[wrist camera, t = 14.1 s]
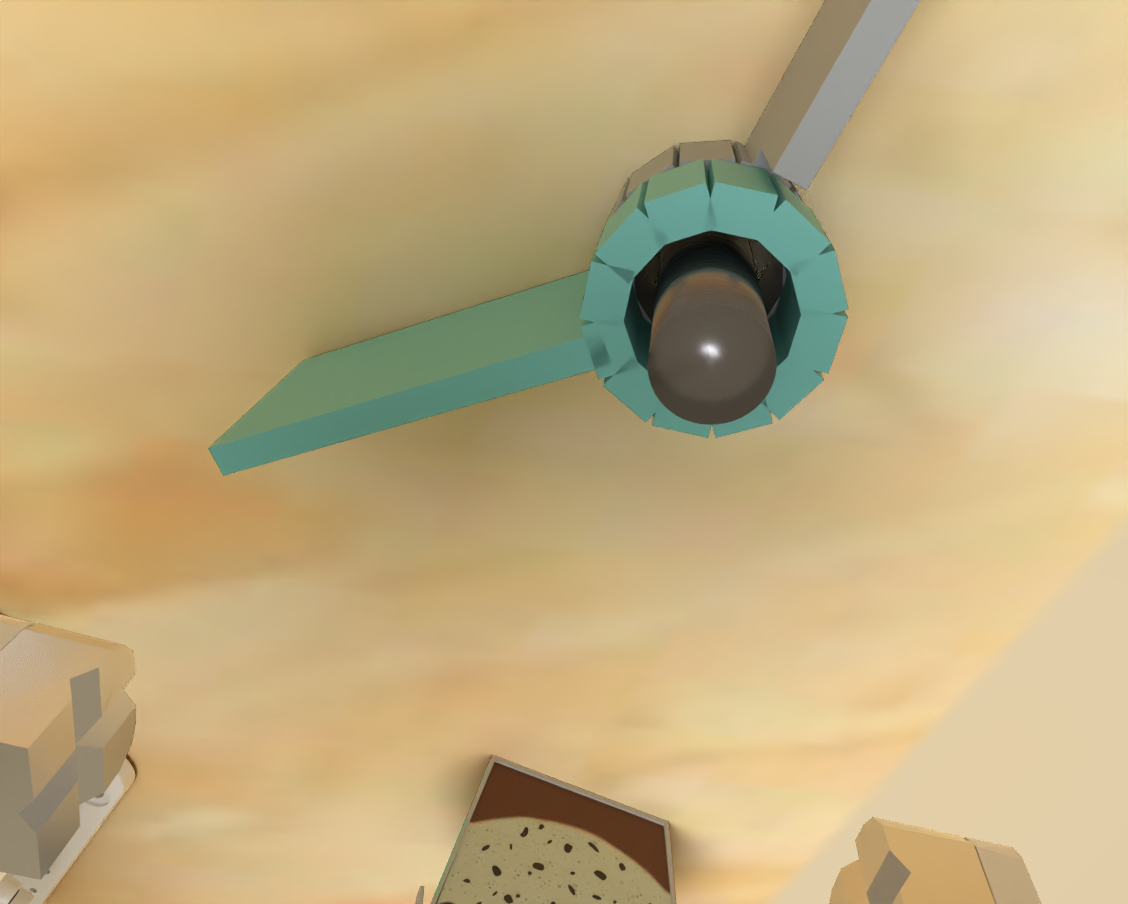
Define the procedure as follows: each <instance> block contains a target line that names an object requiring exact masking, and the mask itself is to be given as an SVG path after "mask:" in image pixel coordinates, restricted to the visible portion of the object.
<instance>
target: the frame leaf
mask: <svg viewBox="0 0 1128 904" xmlns="http://www.w3.org/2000/svg"><path fill="white" fill-rule="evenodd" d="M919 2H920V0H825V2H824V4H823V5H822V7H821V9H820V11H819V13H818V14H817V16H816V18H815V20H814V22H813V23H812V25H811V27H810V29H809V31H808V33H807V34H806V36H805V38H804V40H803V42H802V43H801V45H800V47H799V49H798V51H797V52H796V54H795V56H794V58H793V60H792V61H791V63H790V65H789V67H788V69H787V70H786V72H785V74H784V76H783V78H782V80H781V81H780V83H779V85H778V87H777V89H776V90H775V92H774V94H773V96H772V98H771V99H770V101H769V103H768V105H767V107H766V108H765V110H764V112H763V114H762V116H761V117H760V119H759V121H758V123H757V125H756V127H755V128H754V130H753V132H752V134H751V136H750V137H749V139H748V141H747V143H746V145H745V146H744V145H742V144H740V143H738V142H736V143H735V145H734V147H733V149H732V146H731V143H730V140H724V141H708V142H693V143H680V155H679V153H678V152H677V150H676V148H675V147H674V146H672V147H671V148H669V149H668V150H666V151H665V152H663V153H662V154H660V155H659V156H657V157H656V158H654V159H653V160H651V161H650V162H648V163H647V164H645V165H644V166H642V167H641V168H640V169H638V170H637V171H635V172H634V173H633V174H632V177H631V179H629V178H628V180H627V182H626V184H625V186H624V188H623V190H622V192H621V194H620V196H619V198H618V200H617V202H616V204H615V206H614V208H613V210H612V212H611V214H610V216H609V218H608V220H609V219H610V218H611V217H612V216H613V214H614V213H615V212H616V211H617V210H618V209H619V208H620V207H621V205H622V204H623V203H624V202H625V201H626V200H627V199H628V198H629V196H630V195H631V194H632V193H633V192H634V191H635V190H636V189H637V187H638V186H639V185H640V184H641V183H642V182H643V181H644V182H645V183H646V184H647V185H648V182H649V178H650V176H653V175H656V174H659V173H662V172H665V171H668V170H671V169H674V168H677V167H680V166H683V165H686V164H689V163H692V162H694V161H697V160H700V159H704V163H705V166H706V170H707V173H708V169H709V165H710V161H711V158H713V159H718V160H723V161H727V162H732V163H737V164H741V165H746V166H751V167H755V168H760V169H765V170H766V171H767V173H768V175H769V177H770V176H771V175H772V174H774V175H775V176H776V177H777V178H778V179H779V180H780V181H781V182H782V183H783V184H784V185H785V186H786V187H787V188H788V189H789V190H790V191H792V192H793V193H794V194H795V195H796V196H797V197H798V198H799V199H800V200H801V198H800V196H799V194H798V193H797V191H796V189H795V187H794V186H793V184H792V182H793V183H795V184H797V185H799V186H800V187H802V188H804V189H806V190H807V188H808V187H809V185H810V183H811V182H812V180H813V178H814V177H815V175H816V173H817V172H818V170H819V168H820V167H821V165H822V163H823V162H824V160H825V158H826V157H827V155H828V153H829V152H830V150H831V148H832V147H833V145H834V143H835V142H836V140H837V138H838V137H839V135H840V133H841V132H842V130H843V128H844V127H845V125H846V123H847V122H848V120H849V118H850V117H851V115H852V113H853V112H854V110H855V108H856V107H857V105H858V103H859V102H860V100H861V98H862V97H863V95H864V93H865V92H866V90H867V88H868V87H869V85H870V83H871V82H872V80H873V78H874V77H875V75H876V73H877V72H878V70H879V68H880V67H881V65H882V63H883V62H884V60H885V58H886V57H887V55H888V53H889V52H890V50H891V48H892V47H893V45H894V43H895V42H896V40H897V38H898V37H899V35H900V33H901V32H902V30H903V28H904V27H905V25H906V23H907V22H908V20H909V18H910V17H911V15H912V13H913V12H914V10H915V8H916V7H917V5H918V3H919ZM801 201H802V200H801ZM802 202H803V201H802ZM608 220H607V221H608ZM606 223H607V222H606ZM605 226H606V225H605ZM604 228H605V227H604ZM786 276H787V274H786V270H785V266H784V265H783V264H782V263H781V262H780V261H779V260H778V259H777V258H776V257H774V256H773V255H772V261H771V262H770V264H769V266H768V267H767V269H766V271H765V272H764V274H763V276H762V277H761V279H760V281H759V286H760V290H761V294H762V298H763V303H764V307H765V311H766V315H767V319H769V318H770V317H771V316H772V315H773V314H774V313H775V312H776V308H777V305H778V302H779V299H780V295H781V292H782V289H783V286H784V282H785V279H786ZM632 285H633V288H634V291H635V294H636V297H637V300H638V303H639V306H640V309H641V312H642V316H643V318H644V319H645V320H646V321H648V322H649V323H650V324H651V325H652V323H653V314H654V306H655V298H656V288H655V286H654V285H653V283H652V282H651V280H650V279H649V277H648V275H647V274H646V272H645V271H644V269H643V268H642V269H641V271H640V272H639V273H638V274H637V275H636V276H635V277H634V278H633V282H632Z"/></svg>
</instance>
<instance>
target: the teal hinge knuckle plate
mask: <svg viewBox="0 0 1128 904" xmlns="http://www.w3.org/2000/svg"><path fill="white" fill-rule="evenodd" d="M709 230H713V231H717V232H722V233H727V234H731V235H736V236H741V237H745V238H750V239H755V240H758V241H759V242H760V243H761V244H762V245H763V246H764V247H765V248H766V249H767V250H768V251H769V252H770V253H771V254H772V255H773V256H774V257H776V258H777V259H778V260H779V261H780V262H781V263H782V264H783V265H784V266H785V270H786V274H787V276H786V279H785V282H784V286H783V289H782V292H781V295H780V299H779V302H778V305H777V308H776V312H775V313H774V314H773V315H772V316H771V317H770V318H769V319H768V323H769V327H770V331H771V335H772V339H773V343H774V348H775V352H776V359H777V369H776V375H775V379H774V382H773V385H772V387H771V389H770V391H769V393H768V394H767V396H766V398H765V399H764V400H763V401H762V402H761V404H760V405H758V406H757V407H756V408H755V409H754V410H753V411H751V412H750V413H749V414H747V415H745V416H743V417H742V418H739V419H737V420H735V421H732V422H728V423H724V424H717V425H706V424H698V423H693V422H690V421H687V420H684V419H682V418H680V417H678V416H677V415H675V414H673V413H672V412H671V411H669V410H668V409H667V408H666V407H665V406H664V405H663V404H662V403H661V402H660V401H659V399H658V398H657V396H656V395H655V393H654V391H653V389H652V386H651V384H650V380H649V375H648V356H649V348H650V339H651V331H652V325H651V324H650V323H649V322H648V321H646V320H645V319H644V318H643V316H642V312H641V309H640V306H639V303H638V300H637V297H636V294H635V291H634V288H633V285H632V282H633V278H634V277H635V276H636V275H637V274H638V273H639V272H640V271H641V269H642V268H643V267H644V266H645V265H646V264H647V263H648V262H649V261H650V260H651V259H652V258H653V257H654V256H655V255H656V253H657V252H658V251H659V250H660V249H661V248H662V247H663V246H664V245H665V244H668V243H671V242H674V241H677V240H681V239H684V238H687V237H690V236H693V235H696V234H700V233H703V232H706V231H709ZM847 309H848V305H847V301H846V297H845V292H844V288H843V283H842V279H841V275H840V270H839V266H838V261H837V257H836V253H835V250H834V248H833V246H832V245H831V243H830V241H829V239H828V237H827V236H826V234H825V232H824V231H823V229H822V227H821V226H820V224H819V222H818V221H817V219H816V217H815V216H814V214H813V212H812V211H811V210H810V209H809V208H808V207H807V206H806V205H805V204H804V203H803V202H802V201H801V200H800V199H799V198H798V197H797V196H796V195H795V194H794V193H793V192H792V191H790V190H789V189H788V188H787V187H786V186H785V185H784V184H783V183H782V182H781V181H780V180H779V179H778V178H777V177H776V176H775V175H774V174H772V175H771V176H770V177H769V175H768V173H767V171H766V170H765V169H760V168H755V167H751V166H746V165H741V164H737V163H732V162H727V161H723V160H718V159H713V158H711V161H710V165H709V169H708V173H707V170H706V166H705V163H704V159H700V160H697V161H694V162H692V163H689V164H686V165H683V166H680V167H677V168H674V169H671V170H668V171H665V172H662V173H659V174H656V175H653V176H650V178H649V182H648V185H647V184H646V183H645V182H644V181H643V182H642V183H641V184H640V185H639V186H638V187H637V189H636V190H635V191H634V192H633V193H632V194H631V195H630V196H629V198H628V199H627V200H626V201H625V202H624V203H623V204H622V205H621V207H620V208H619V209H618V210H617V211H616V212H615V213H614V214H613V216H612V217H611V218H610V219H609V220H608V221H607V223H606V226H605V228H604V229H603V231H602V234H601V237H600V239H599V242H598V245H597V247H596V250H595V253H594V255H593V258H592V261H591V265H590V270H588V271H585V272H582V273H578V274H575V275H572V276H569V277H566V278H563V279H559V280H556V281H553V282H550V283H547V284H543V285H540V286H537V287H534V288H531V289H528V290H524V291H521V292H518V293H515V294H512V295H509V296H505V297H502V298H499V299H496V300H493V301H490V302H486V303H483V304H480V305H477V306H474V307H471V308H467V309H464V310H461V311H458V312H455V313H451V314H448V315H445V316H442V317H439V318H436V319H432V320H429V321H426V322H423V323H420V324H417V325H413V326H410V327H407V328H404V329H401V330H398V331H394V332H391V333H388V334H385V335H382V336H378V337H375V338H372V339H369V340H366V341H363V342H359V343H356V344H353V345H350V346H347V347H344V348H340V349H337V350H334V351H331V352H328V353H325V354H321V355H318V356H315V357H312V358H309V359H305V360H303V361H302V362H301V363H300V364H299V365H298V366H296V367H295V368H294V369H293V370H292V371H291V372H290V373H289V374H288V375H287V376H286V377H285V378H284V379H282V380H281V381H280V382H279V383H278V384H277V385H276V386H275V387H274V388H273V389H272V390H271V391H270V392H268V393H267V394H266V395H265V396H264V397H263V398H262V399H261V400H260V401H259V402H258V403H257V404H256V405H254V406H253V407H252V408H251V409H250V410H249V411H248V412H247V413H246V414H245V415H244V416H243V417H242V418H240V419H239V420H238V421H237V422H236V423H235V424H234V425H233V426H232V427H231V428H230V429H229V430H228V431H226V432H225V433H224V434H223V435H222V436H221V437H220V438H219V439H218V440H217V441H216V442H215V443H214V444H212V445H211V446H210V447H209V448H208V449H209V451H210V452H211V454H212V456H213V458H214V460H215V462H216V463H217V465H218V467H219V469H220V471H221V472H222V474H223V476H224V475H227V474H231V473H234V472H238V471H241V470H245V469H248V468H252V467H255V466H259V465H262V464H266V463H269V462H273V461H276V460H280V459H283V458H287V457H290V456H294V455H297V454H301V453H304V452H308V451H311V450H315V449H318V448H322V447H325V446H329V445H332V444H336V443H339V442H343V441H346V440H350V439H353V438H357V437H360V436H364V435H367V434H371V433H374V432H378V431H381V430H385V429H388V428H392V427H395V426H399V425H402V424H406V423H409V422H413V421H416V420H420V419H423V418H427V417H430V416H434V415H437V414H441V413H444V412H448V411H451V410H455V409H458V408H462V407H465V406H469V405H472V404H476V403H479V402H483V401H486V400H490V399H493V398H497V397H500V396H504V395H507V394H511V393H514V392H518V391H521V390H525V389H528V388H532V387H535V386H539V385H542V384H546V383H549V382H553V381H556V380H560V379H563V378H567V377H570V376H574V375H577V374H581V373H584V372H588V371H591V370H596V373H597V376H598V379H602V378H605V380H604V384H603V386H604V387H605V388H606V389H607V390H609V391H610V392H611V393H612V394H613V395H614V396H616V397H617V398H618V399H619V400H620V401H621V402H623V403H624V404H625V405H626V406H627V407H628V408H630V409H631V410H632V411H633V412H634V413H635V414H637V415H638V416H639V417H640V418H641V419H642V420H644V421H645V422H646V421H647V420H648V419H649V418H650V417H651V416H652V415H653V424H652V426H657V427H661V428H666V429H670V430H675V431H679V432H684V433H688V434H693V435H697V436H702V437H706V438H708V436H709V432H710V429H711V426H712V427H713V430H714V433H715V436H716V438H717V437H721V436H725V435H729V434H732V433H736V432H740V431H744V430H748V429H752V428H756V427H760V426H764V425H768V424H771V423H772V419H771V414H770V411H771V412H772V413H773V414H774V415H775V416H776V417H777V418H779V419H781V418H782V417H783V416H784V415H785V414H786V413H787V412H789V411H790V410H791V409H792V408H793V407H794V406H795V405H796V404H798V403H799V402H800V401H801V400H802V399H803V398H804V397H805V396H807V395H808V394H809V393H810V392H811V391H812V390H813V389H814V388H816V387H817V386H818V385H819V384H820V383H821V382H822V381H823V380H824V379H823V377H822V374H821V372H824V373H829V370H830V367H831V364H832V361H833V359H834V356H835V353H836V350H837V347H838V344H839V341H840V338H841V335H842V333H843V330H844V327H845V324H846V321H847V318H848V317H847V315H846V313H845V311H844V310H847Z"/></svg>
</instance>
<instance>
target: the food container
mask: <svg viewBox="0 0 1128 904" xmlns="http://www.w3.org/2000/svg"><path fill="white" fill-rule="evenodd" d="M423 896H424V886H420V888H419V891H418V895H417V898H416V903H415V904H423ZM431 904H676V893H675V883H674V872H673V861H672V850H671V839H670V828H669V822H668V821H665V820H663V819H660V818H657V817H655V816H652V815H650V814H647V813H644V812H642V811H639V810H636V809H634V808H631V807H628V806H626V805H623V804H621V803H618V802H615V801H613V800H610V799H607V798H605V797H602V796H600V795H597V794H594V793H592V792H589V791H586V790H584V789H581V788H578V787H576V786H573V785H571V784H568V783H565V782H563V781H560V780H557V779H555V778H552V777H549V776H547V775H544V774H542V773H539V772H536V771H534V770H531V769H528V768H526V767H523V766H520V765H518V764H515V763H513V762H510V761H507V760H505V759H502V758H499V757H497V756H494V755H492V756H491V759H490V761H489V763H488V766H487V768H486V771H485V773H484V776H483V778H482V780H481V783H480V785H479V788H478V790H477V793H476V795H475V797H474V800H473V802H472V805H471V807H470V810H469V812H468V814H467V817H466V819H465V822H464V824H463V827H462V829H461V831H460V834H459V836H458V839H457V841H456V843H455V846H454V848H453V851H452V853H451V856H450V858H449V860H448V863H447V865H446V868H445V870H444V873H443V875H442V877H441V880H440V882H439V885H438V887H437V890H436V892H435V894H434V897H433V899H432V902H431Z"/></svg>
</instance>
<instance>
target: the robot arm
mask: <svg viewBox="0 0 1128 904" xmlns="http://www.w3.org/2000/svg"><path fill="white" fill-rule="evenodd" d="M134 675H135V669H134V656H133V650H131V649H129V648H128V647H126V646H125V645H121V644H117V643H113V642H109V641H105V640H102V639H98V638H94V637H90V636H86V635H82V634H78V633H74V632H70V631H67V630H63V629H59V628H55V627H51V626H47V625H43V624H39V623H38V624H35V623H31V622H27V621H24V620H20V619H16V618H12V617H8V616H4V615H1V614H0V904H43V903H44V902H45V900H46V899H47V898H48V897H49V896H50V894H51V893H52V892H53V890H54V889H55V888H56V886H57V885H58V884H59V882H60V881H61V879H62V878H63V877H64V875H65V874H66V873H67V871H68V870H69V869H70V867H71V866H72V865H73V863H74V862H75V860H76V859H77V858H78V856H79V855H80V854H81V852H82V851H83V850H84V848H85V847H86V846H87V844H88V843H89V841H90V840H91V839H92V837H93V836H94V835H95V833H96V832H97V831H98V829H99V828H100V827H101V825H102V824H103V823H104V821H105V820H106V818H107V817H108V816H109V814H110V813H111V812H112V810H113V809H114V808H115V806H116V805H117V804H118V802H119V801H120V799H121V798H122V797H123V795H124V794H125V793H126V791H127V790H128V789H129V787H130V786H131V784H132V783H133V781H134V779H135V772H134V769H133V767H132V765H131V764H130V762H129V761H128V760H127V759H126V755H127V753H128V751H129V748H130V746H131V744H132V739H133V734H134V729H135V724H136V706H135V704H134V703H133V702H132V700H131V699H130V697H129V696H128V695H127V693H126V692H125V691H124V688H125V686H126V685H127V684H128V683H129V681H130V680H131V679H132V678H133V676H134ZM855 841H856V846H857V851H858V856H859V860H857V861H855V862H853V863H851V864H849V865H847V866H845V867H844V868H841V871H840V873H839V875H838V877H837V879H836V882H835V884H834V886H833V888H832V892H831V898H830V903H829V904H1041V902H1040V899H1039V897H1038V895H1037V892H1036V890H1035V887H1034V885H1033V882H1032V880H1031V878H1030V875H1029V873H1028V871H1027V868H1026V866H1025V864H1024V861H1023V859H1022V857H1021V856H1020V855H1019V854H1018V853H1017V852H1016V851H1015V849H1014V848H1012V847H1008V846H1003V845H999V844H994V843H989V842H984V841H980V840H975V839H970V838H962V837H960V836H957V835H952V834H947V833H943V832H938V831H933V830H929V829H925V828H920V827H916V826H911V825H907V824H902V823H897V822H893V821H888V820H884V819H879V818H875V817H872V818H871V819H870V820H869V821H867V822H866V823H865V824H864V825H863V827H862V829H861V831H860V833H859V835H858V836H857V838H856V840H855Z"/></svg>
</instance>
